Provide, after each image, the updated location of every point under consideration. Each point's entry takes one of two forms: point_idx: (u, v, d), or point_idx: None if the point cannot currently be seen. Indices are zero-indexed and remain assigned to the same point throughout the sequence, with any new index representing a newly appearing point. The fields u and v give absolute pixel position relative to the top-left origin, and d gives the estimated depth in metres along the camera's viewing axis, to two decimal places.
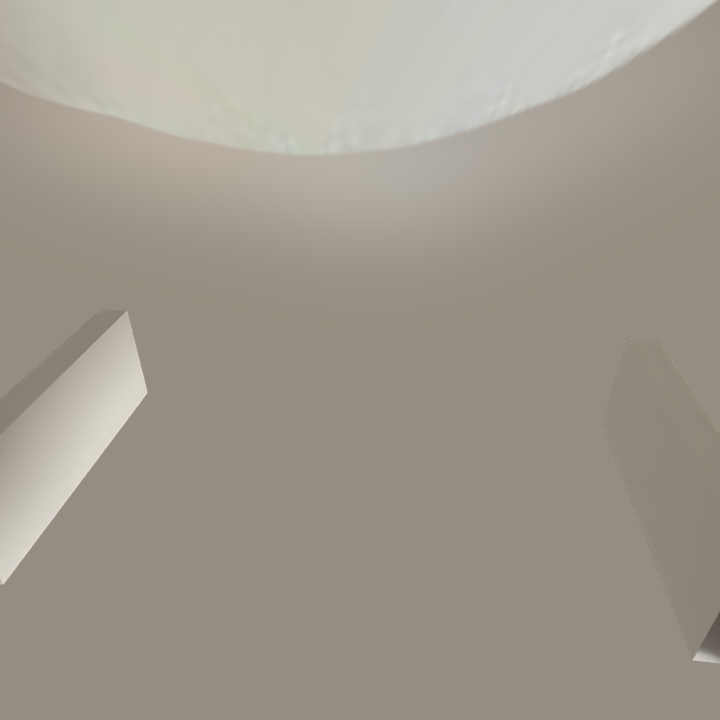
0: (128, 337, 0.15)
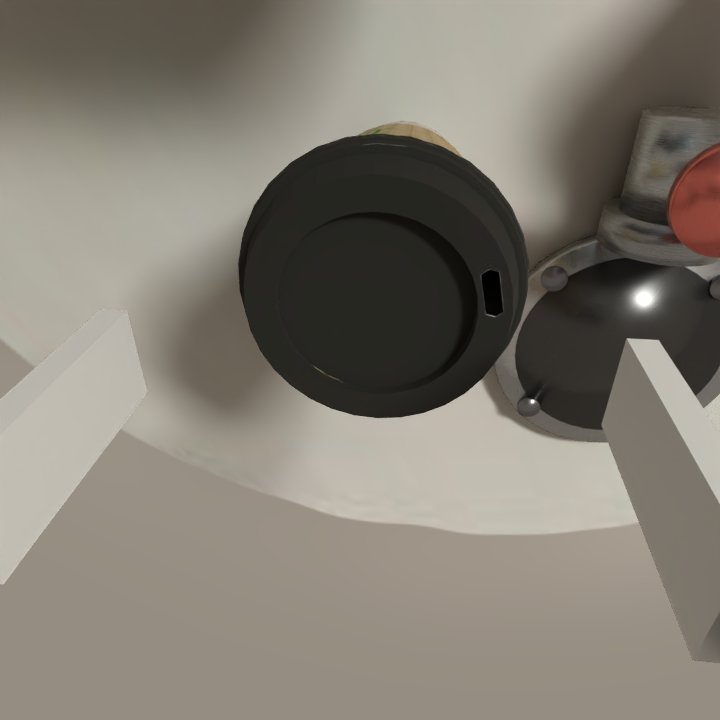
0: (128, 337, 0.15)
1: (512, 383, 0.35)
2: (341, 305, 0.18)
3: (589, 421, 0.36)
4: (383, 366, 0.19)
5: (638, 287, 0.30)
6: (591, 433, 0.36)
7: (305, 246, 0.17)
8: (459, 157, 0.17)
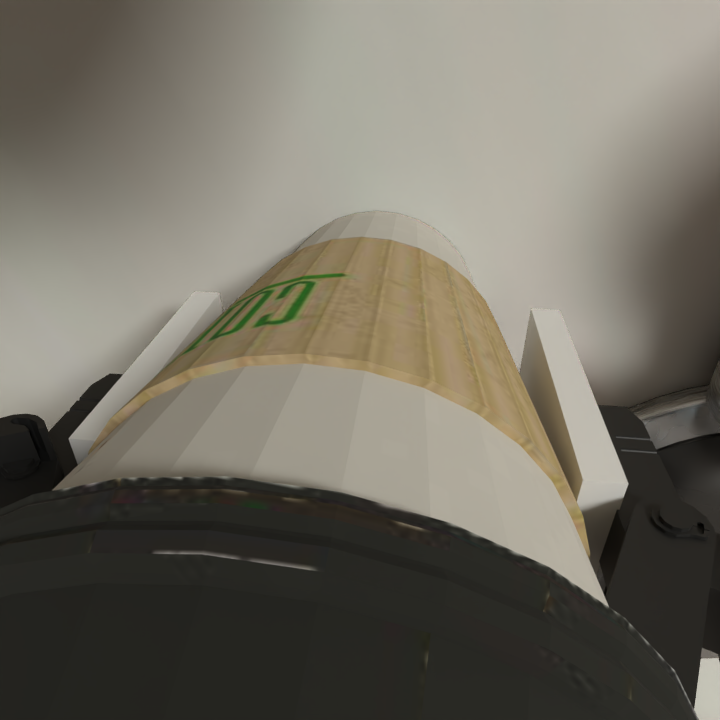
0: None
1: None
2: None
3: None
4: None
5: None
6: None
7: None
8: (513, 560, 0.05)
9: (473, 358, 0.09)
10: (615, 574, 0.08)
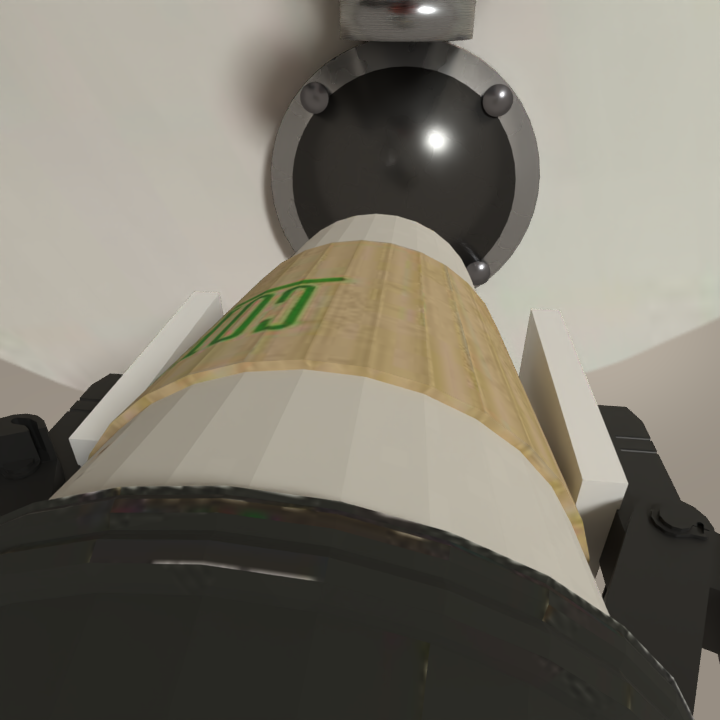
0: (220, 318, 0.16)
1: (300, 237, 0.32)
2: None
3: None
4: None
5: (406, 105, 0.27)
6: None
7: None
8: (512, 569, 0.05)
9: (473, 363, 0.09)
10: (615, 574, 0.08)
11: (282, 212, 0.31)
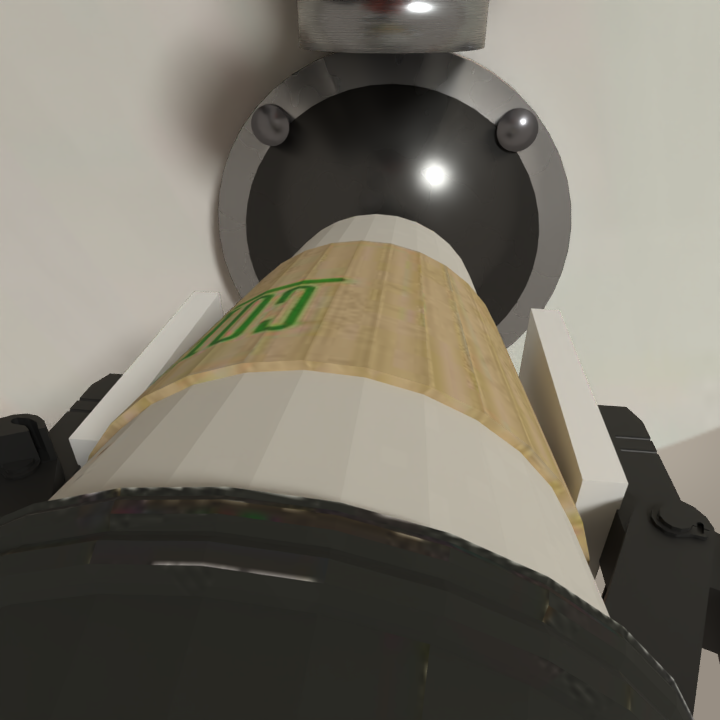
0: (219, 318, 0.16)
1: None
2: None
3: None
4: None
5: (393, 135, 0.20)
6: None
7: None
8: (512, 570, 0.05)
9: (473, 363, 0.09)
10: (615, 574, 0.08)
11: (235, 269, 0.24)
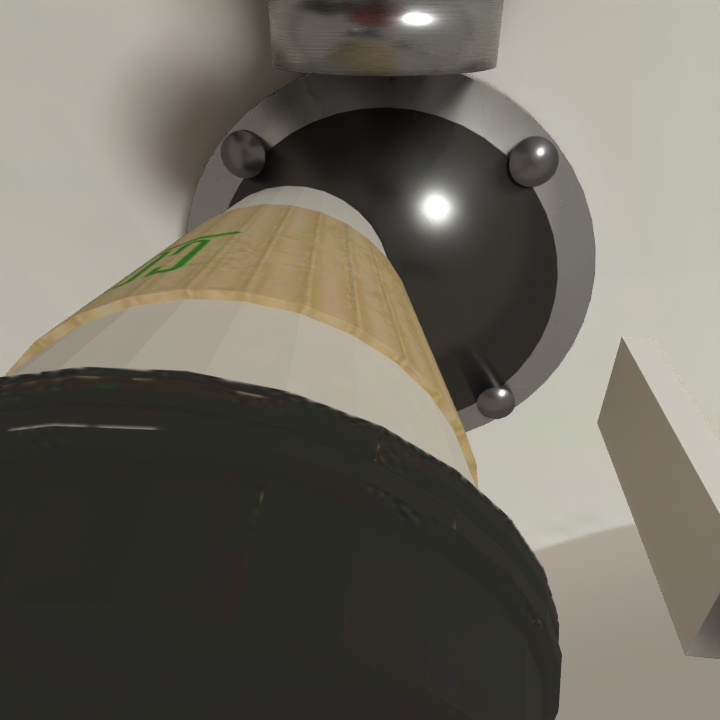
0: None
1: None
2: None
3: None
4: None
5: (387, 167, 0.17)
6: None
7: None
8: (347, 420, 0.05)
9: (356, 294, 0.10)
10: None
11: None
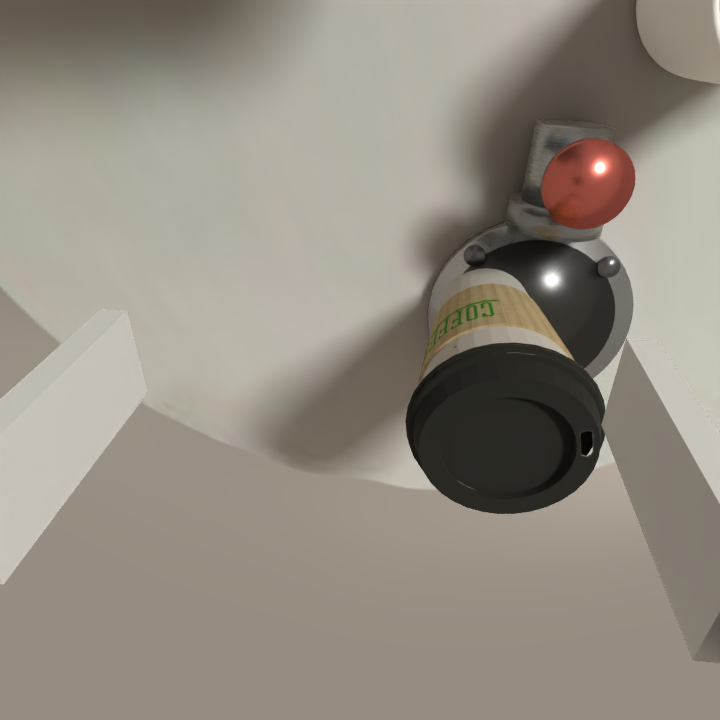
0: (128, 337, 0.15)
1: None
2: (483, 445, 0.27)
3: None
4: (505, 481, 0.28)
5: (541, 265, 0.38)
6: None
7: (465, 412, 0.26)
8: (566, 357, 0.26)
9: (546, 326, 0.30)
10: None
11: None
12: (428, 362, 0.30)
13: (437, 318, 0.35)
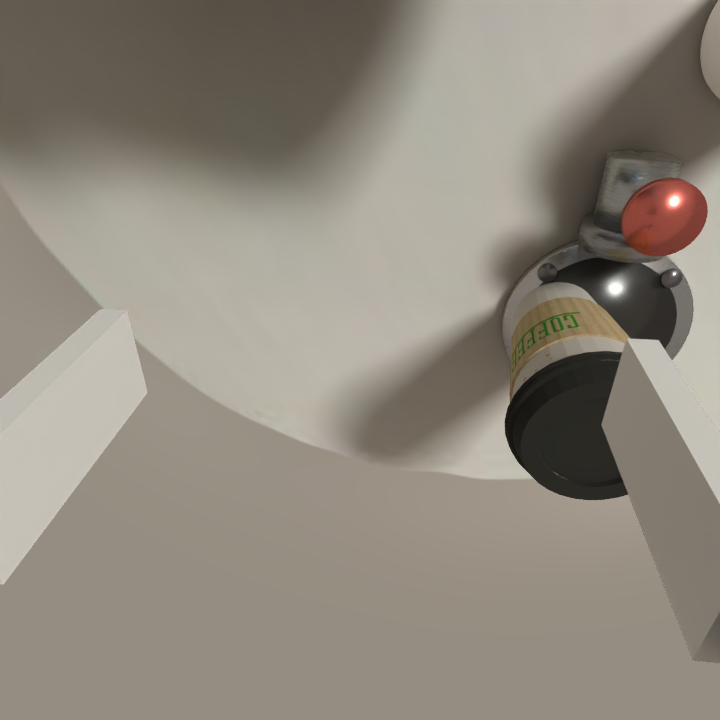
0: (128, 337, 0.15)
1: None
2: (577, 440, 0.31)
3: None
4: (595, 471, 0.32)
5: (609, 278, 0.41)
6: None
7: (563, 412, 0.30)
8: None
9: (624, 334, 0.34)
10: None
11: (507, 337, 0.45)
12: (520, 369, 0.35)
13: (519, 329, 0.39)
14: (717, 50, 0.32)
